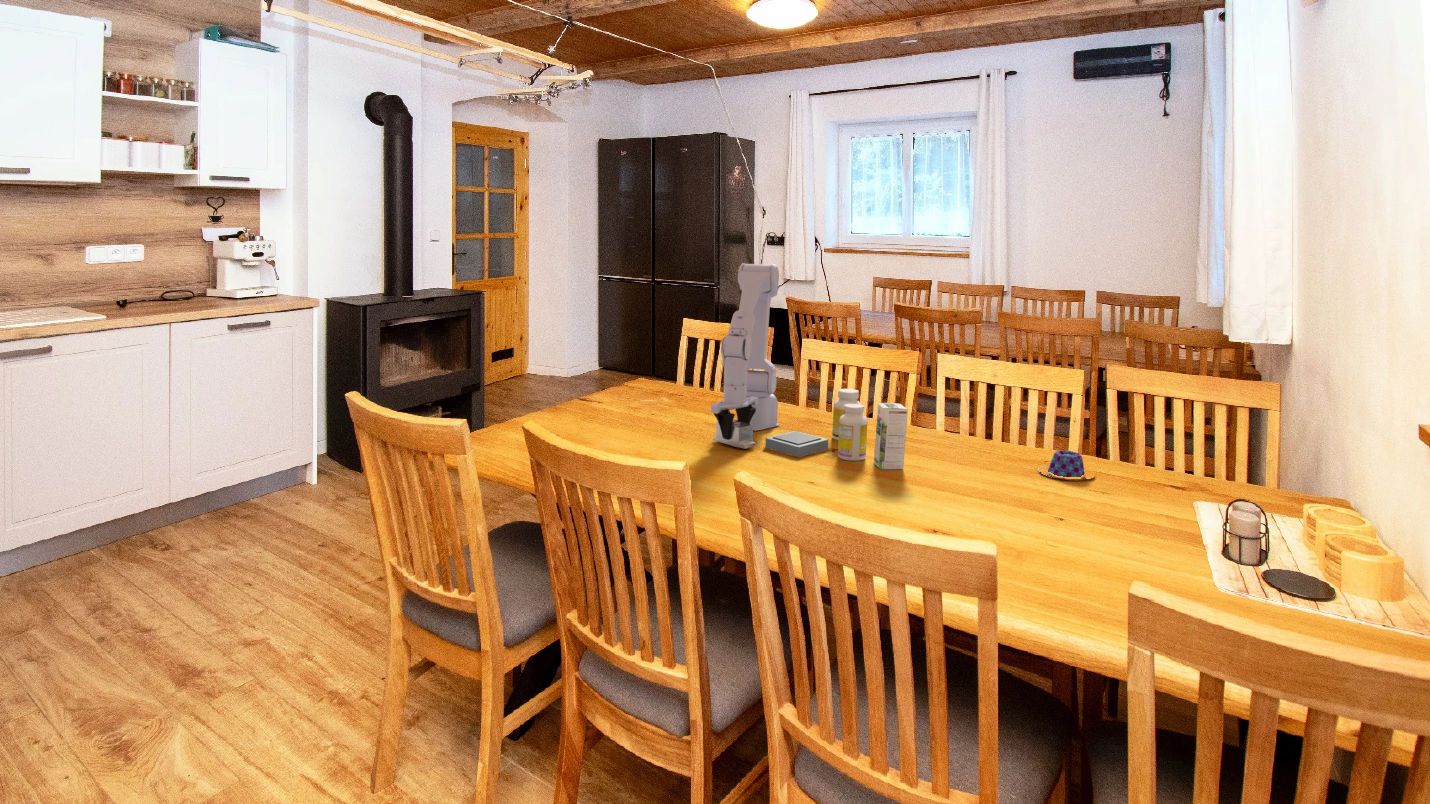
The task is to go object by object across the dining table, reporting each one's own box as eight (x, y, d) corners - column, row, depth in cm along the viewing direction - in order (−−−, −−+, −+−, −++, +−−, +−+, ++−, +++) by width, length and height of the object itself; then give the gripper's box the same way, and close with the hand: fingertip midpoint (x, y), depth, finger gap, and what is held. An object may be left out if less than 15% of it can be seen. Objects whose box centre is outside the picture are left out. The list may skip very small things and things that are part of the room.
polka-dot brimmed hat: (1031, 466, 197) (1033, 445, 196) (1083, 469, 196) (1086, 447, 195) (1046, 482, 186) (1048, 459, 185) (1102, 484, 185) (1105, 462, 184)
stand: (794, 440, 216) (795, 429, 216) (828, 449, 209) (828, 438, 208) (765, 447, 209) (765, 436, 208) (798, 457, 201) (799, 445, 201)
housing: (726, 436, 216) (726, 415, 215) (757, 445, 208) (757, 423, 207) (711, 439, 213) (712, 418, 212) (743, 448, 205) (743, 427, 204)
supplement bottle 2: (862, 453, 205) (865, 402, 202) (868, 461, 198) (871, 408, 196) (835, 453, 205) (837, 402, 202) (840, 461, 198) (842, 408, 195)
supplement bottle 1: (841, 443, 214) (844, 394, 211) (826, 436, 220) (829, 388, 218) (865, 440, 217) (867, 392, 214) (849, 434, 223) (852, 386, 221)
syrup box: (872, 462, 198) (876, 402, 194) (897, 462, 198) (901, 402, 195) (879, 469, 192) (883, 408, 189) (904, 469, 193) (908, 408, 189)
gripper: (725, 390, 200) (724, 445, 203) (767, 382, 209) (766, 435, 212) (705, 385, 205) (704, 439, 208) (747, 378, 214) (746, 429, 217)
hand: (734, 436), depth 210 cm, fingers closed on housing, 5 cm apart
